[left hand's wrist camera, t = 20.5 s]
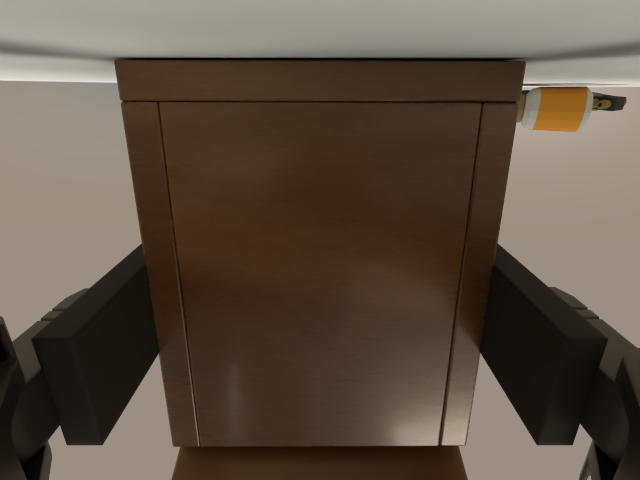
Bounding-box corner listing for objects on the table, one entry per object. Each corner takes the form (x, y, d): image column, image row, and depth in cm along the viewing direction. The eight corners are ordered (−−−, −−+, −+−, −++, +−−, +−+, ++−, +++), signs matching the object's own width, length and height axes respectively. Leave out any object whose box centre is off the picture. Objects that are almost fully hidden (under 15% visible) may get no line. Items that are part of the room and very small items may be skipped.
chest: (388, 98, 25) (379, 253, 29) (249, 97, 25) (257, 253, 29) (527, 60, 8) (466, 447, 12) (112, 59, 8) (172, 447, 12)
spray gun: (635, 80, 43) (500, 78, 52) (609, 90, 32) (443, 85, 41) (623, 119, 45) (494, 110, 54) (594, 141, 34) (438, 125, 43)
